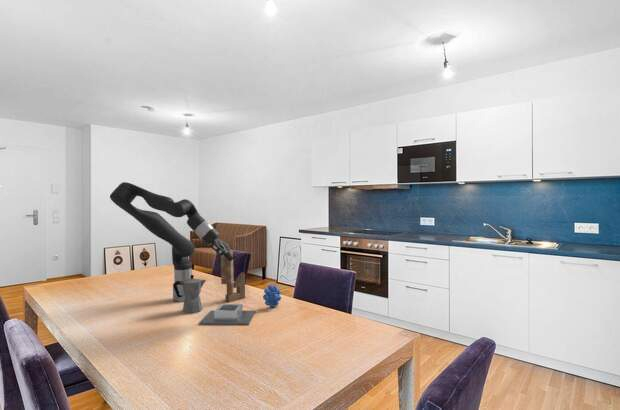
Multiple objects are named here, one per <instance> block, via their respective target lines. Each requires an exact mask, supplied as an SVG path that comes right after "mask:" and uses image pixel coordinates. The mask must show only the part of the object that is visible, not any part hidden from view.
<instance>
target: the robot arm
mask: <svg viewBox="0 0 620 410" xmlns="http://www.w3.org/2000/svg"><path fill="white" fill-rule="evenodd" d="M137 197H141V199H143V200H144V201H145V203H146V204H147V205H148V206H149V207H150V208H152V209H154V210H157V211H160V212H165V213H166V214H168V215H169V216H171V217H173V218H182V217H185V216H186V217H187V221H186V224H187V225H188V227H189V228H190V229H191V230H192V231H193V232H194V233H195V234H196V235H197V237H198V238H200V240H202V241H203V242H204V243H205V244H206V246H211V245H212V246H211V249H212V250H214V252H216V253H218V255H220V257H221V256H222V255H223V256H225V257H226V258H227V259H228V260H229V261H232V260H233V261H234V259H236V257H237V255H236V254H235V253H234V252H233V257H232V256H231V255H230V254H229V253H228V252H227V251H226V250H232V247H231V246H230V245H229V244H228V243H227V242H226V241H225V240H226V239H220V238H219V237H220V236H221V235H220V234H221V233H220V232H218V230H217V229H216V228H215V227H214V226H212V225H211V223H209V222H208V221H207V220H206V219H205V218H204V217H203V216H201V214H200V213H199V211H198V210H197V208H196V207H195V205H194V203H193V202H192V201H190V200H188V199H186V198H185V199H181V200H179V201H175V200H174V199H173V198H171V197H169V196H165V195H161V194H157V193H154V192H152V191H149V190H147V189H146V188H143V187H140V186H138V185H136V184H133V183H130V182H125V181H124V182H121V183H120V184H118V186H117V187H116V188H115V189H114V190H113V191H112V192H111V193H110V195H109V198H110V200H111V202H113V204H115V205H116V206H118V207H119V208H120V209H122V210H124V212H126V213H127V214H128V215H130V216H131V217H133V219H135V220H136V221H138V223H140V224H141V225H142V226H143V227H144V228H145V229H146V230H148V232H150V233H151V234H153V235H154V236H155V237H158V238H159V239H161V240H163V241H165V242H166V243H169V244H170V246H171V257H172V258H171V259H172V260H171V261H172V264H173V269H174V270H173V273H174V276H173V278H174V279H173V281H174V282H173V283H172V285H173V284H174V283H175V282H176V281H184V280H187V279H191V276H190V275H193V264H192V262H191V260H190V259H189V257H190V256H193V255H194V253H195V246H194V243H193V242H192V241H191V240H190V239H188V238H187V237H185V236H183V235H182V234H181V233H180V232H178V230H177V229H175V227H174V226H173V225H172V224H170V223H169V222H168V221H167V220H166V219H165V217H163V216H162V215H161V214H160V213H158V212H155V211H151V210H145V209H140V208H138V207H136V206H135V205H133V204H132V202H133V201H134V200H135V199H136V198H137ZM177 287H178V291H179V295H182V297H177V295H176V292H175V289H174V287H173V286H172V301H173V302H174V301H175V302H178V303H180V302H183V303H184V300H185V295H184V290H183V285H177Z"/></svg>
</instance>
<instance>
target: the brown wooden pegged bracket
mask: <svg viewBox="0 0 620 410" xmlns="http://www.w3.org/2000/svg"><path fill="white" fill-rule="evenodd" d="M234 280H235V281H234V282H233V283H232V284H226V294H225V298H224V299H225V302H227V303H231V302H235V301H238V300H243V299H246V273H245V272H242V271H241V272H240V274H239V275H237V277H236V279H234ZM235 288H236V291H235V292H234V289H235Z"/></svg>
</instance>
